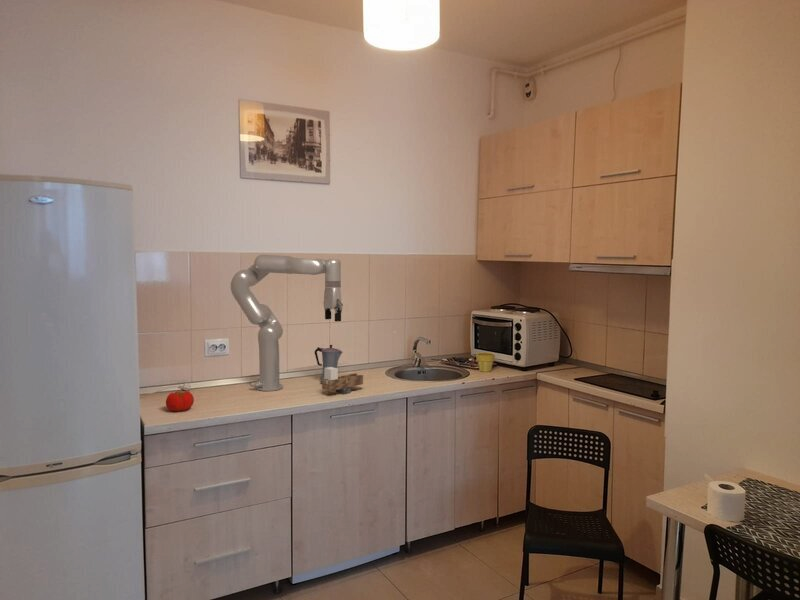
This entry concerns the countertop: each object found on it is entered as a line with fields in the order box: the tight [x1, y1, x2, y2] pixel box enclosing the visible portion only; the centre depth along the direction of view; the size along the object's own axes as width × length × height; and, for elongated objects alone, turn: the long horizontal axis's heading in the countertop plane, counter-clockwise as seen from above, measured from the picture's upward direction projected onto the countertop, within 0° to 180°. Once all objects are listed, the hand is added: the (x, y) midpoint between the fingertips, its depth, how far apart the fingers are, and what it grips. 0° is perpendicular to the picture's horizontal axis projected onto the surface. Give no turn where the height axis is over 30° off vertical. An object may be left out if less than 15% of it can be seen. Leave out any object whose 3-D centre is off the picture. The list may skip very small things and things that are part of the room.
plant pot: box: [476, 352, 496, 373], centre depth 313 cm, size 10×10×10 cm
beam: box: [321, 372, 364, 395], centre depth 260 cm, size 20×6×7 cm, turn 134°
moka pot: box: [314, 344, 343, 384], centre depth 278 cm, size 10×15×20 cm, turn 78°
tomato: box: [165, 390, 195, 413], centre depth 229 cm, size 11×11×8 cm
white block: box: [324, 367, 339, 384], centre depth 255 cm, size 4×5×7 cm
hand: (332, 320), depth 264 cm, fingers open, 9 cm apart
